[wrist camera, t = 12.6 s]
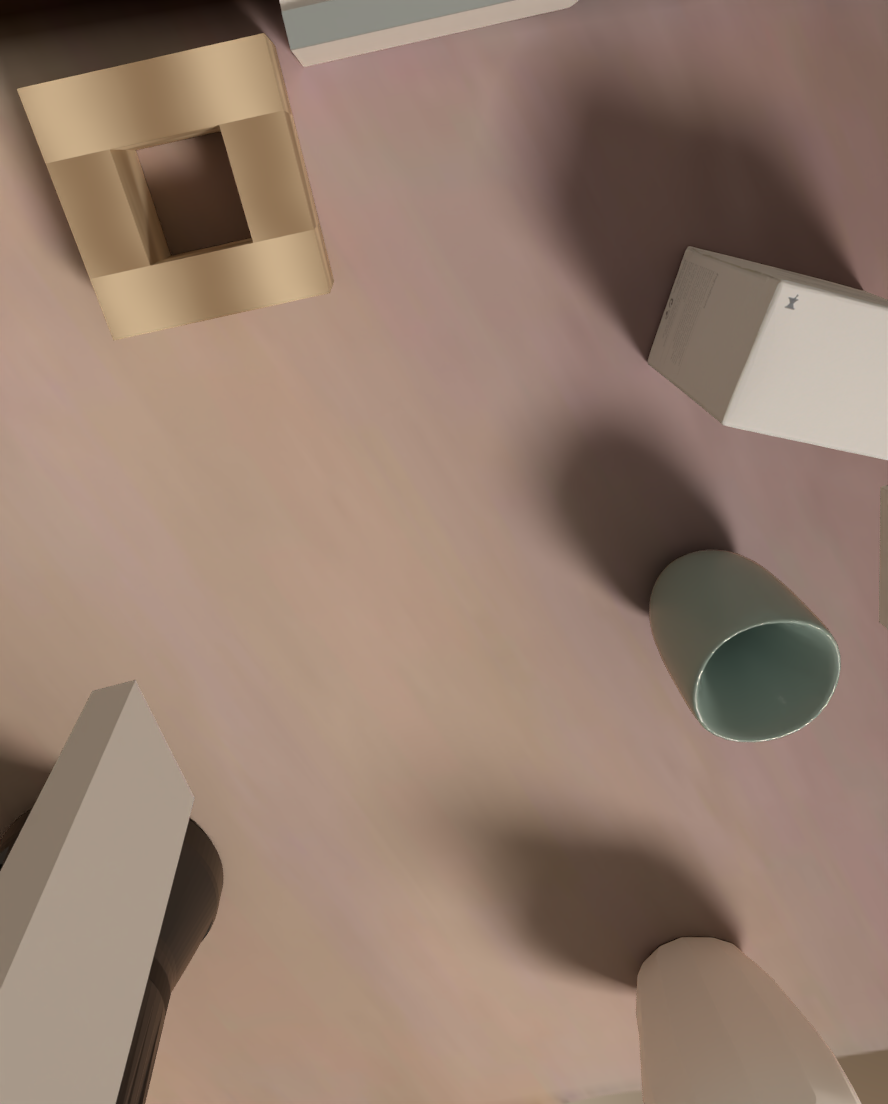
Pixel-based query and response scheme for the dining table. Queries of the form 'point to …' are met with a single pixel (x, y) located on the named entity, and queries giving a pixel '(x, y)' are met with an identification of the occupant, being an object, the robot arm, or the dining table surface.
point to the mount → (125, 201)
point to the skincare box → (778, 352)
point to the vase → (727, 1033)
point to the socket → (391, 22)
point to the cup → (741, 646)
